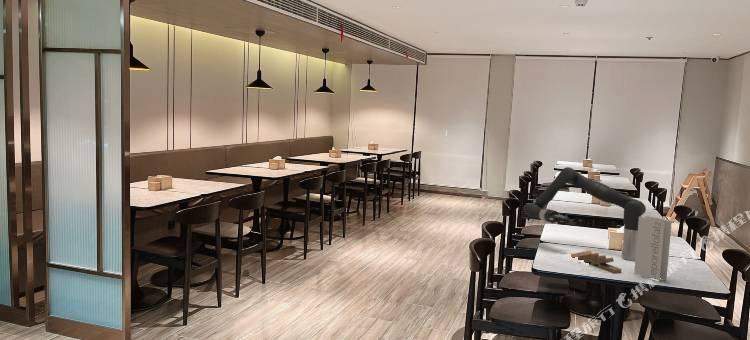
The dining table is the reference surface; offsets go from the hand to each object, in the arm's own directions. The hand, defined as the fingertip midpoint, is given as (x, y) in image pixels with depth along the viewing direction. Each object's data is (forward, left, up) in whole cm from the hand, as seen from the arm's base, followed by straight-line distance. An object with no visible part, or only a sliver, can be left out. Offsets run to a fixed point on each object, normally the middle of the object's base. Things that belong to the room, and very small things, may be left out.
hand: (569, 221), depth 320 cm
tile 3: (-6, +15, -19) cm, 25 cm away
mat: (-6, +16, -20) cm, 26 cm away
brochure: (-27, +40, -20) cm, 53 cm away
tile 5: (-9, +25, -19) cm, 32 cm away
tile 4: (-7, +20, -19) cm, 28 cm away
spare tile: (-2, +6, -19) cm, 20 cm away
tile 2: (-4, +11, -19) cm, 22 cm away
